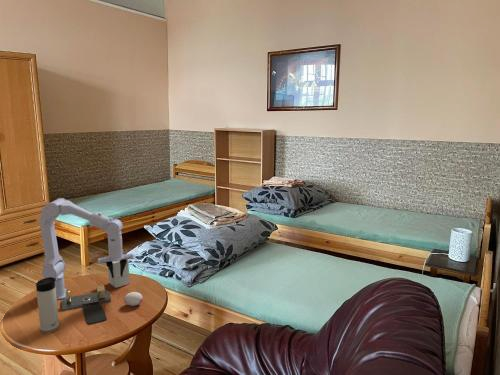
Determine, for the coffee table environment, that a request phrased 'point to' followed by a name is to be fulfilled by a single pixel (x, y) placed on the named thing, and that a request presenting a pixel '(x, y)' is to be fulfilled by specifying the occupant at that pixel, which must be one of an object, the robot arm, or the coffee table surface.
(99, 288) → the wooden block
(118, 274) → the supplement box
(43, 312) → the travel mug
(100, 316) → the phone
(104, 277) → the coffee table surface
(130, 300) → the stress ball
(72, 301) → the plate
